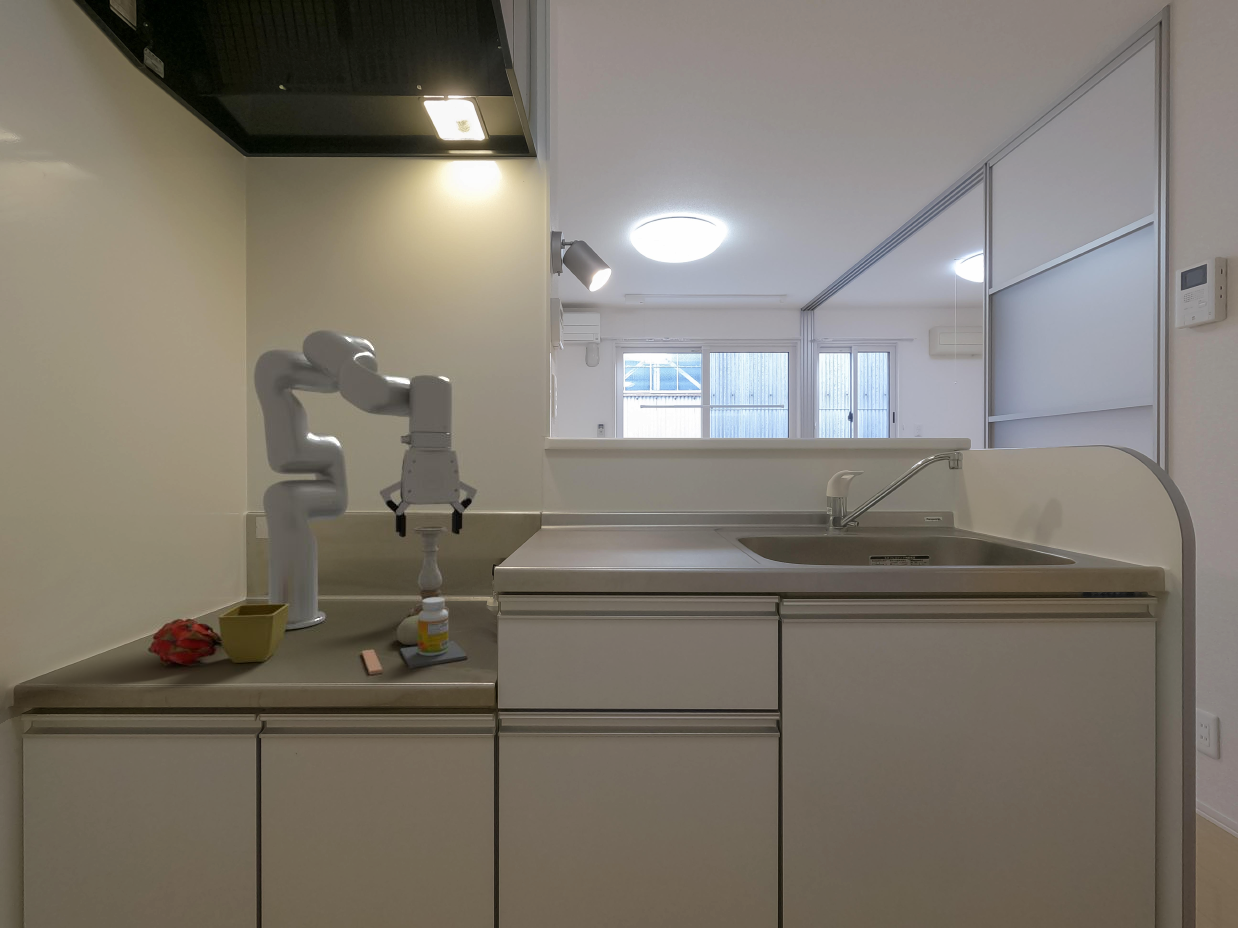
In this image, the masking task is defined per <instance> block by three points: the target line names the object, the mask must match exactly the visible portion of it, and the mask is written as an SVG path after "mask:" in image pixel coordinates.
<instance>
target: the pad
mask: <svg viewBox="0 0 1238 928" xmlns="http://www.w3.org/2000/svg"><path fill="white" fill-rule="evenodd" d="M399 652H400V653H401V655H402V657H403V659H404V661H405V662H406V664H407V666H408V668H409V669H413V668H419V667H420V668H421V667H426V666H431V665H438V664H443V663H445V664H446V663H451V662H457V661H463V660H467V659H468V655H467V654H466V652H464V650H463V649H462V648H461V647H460V646H459V644H457V642H455V640H450V641H449V640H448V650H447V652H445V653H443V654H440V655H436V656H424V655H421V654H419V653H418V645H414V646H410V647H409V646H408V647H402V648H400V651H399Z"/></svg>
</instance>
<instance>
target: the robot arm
mask: <svg viewBox="0 0 1238 928" xmlns="http://www.w3.org/2000/svg"><path fill="white" fill-rule="evenodd" d="M376 354H377V353H376V350H375V348H374V346H373V345H372V343H370V342H369V341H368V340H367V339H365V338H363V337H361V336H356V335H351V334H347V333H342V332H338V331H334V330H333V331H332V330H323V329H322V330H316V331H314V332H311V333H309V334H307V336H306V337H305V339H304V340H303V343H302V351H298V350H297V351H296V350H291V349H290V350H289V349H271V350H267V351H265V352H263V353H262V354H261V355H260V356H259V358H258V359H257V360H256V363H255V368H254V372H253V382H254V383H253V384H254V388H255V389H254V390H255V393H256V396H257V398H258V401H259V404H260V407H261V411H262V414H263V415H262V416H263V426H264V436H265V437H264V438H265V447H266V455H267V456H266V457H267V463H268V465H269V467H270V470H272V471H273V472H275V473H277V474H281V475H314V476H315V477H314V478H315V479H289V480H288V479H287V480H281V481H277V482H275V483H272V484H271V485H270V486H268V487H267V489H266V490H265V491H264V494H263V500H262V504H263V511H264V514H265V520H266V526H267V536H268V604H289V609H288V616H287V622H286V629H285V631H286V630H294V629H295V630H296V629H301V628H302V629H303V628H307V627H313V626H314V625H318V624H321V623H323V622H324V621H325V620H326V613H325V612H324V611H321V610H319V609H318V606H319V605H318V602H319V601H318V600H319V598H318V593H319V591H318V590H319V585H318V583H319V578H318V575H319V574H318V572H319V571H318V570H319V569H318V568H319V567H318V565H319V563H318V561H319V560H318V554H319V553H318V551H319V550H318V547H319V546H318V540H317V537H316V535H315V533H314V532H313V530H312V528H310V526H309V524H308V523H311V522H319V521H320V522H321V521H329V520H335V519H339V518H342V516H343V515H344V514H345V513H346V511H347V509H348V507H349V488H348V486H349V485H348V477H347V475H348V474H347V468H346V467H347V465H346V458H345V451H344V448H343V445H342V443H341V442H340V441H339V439H338V438H336V437H335V436H334V435H331V434H328V433H324V432H323V433H322V432H319V433H318V432H311V431H310V430H309V425H308V414H307V411H306V409H305V407H304V406H303V404H302V402H301V401H300V399H299V398H298V397H297V396H296V395H295V394H294V393H293V391H294V390H295V391H300V392H301V391H303V392H312V393H320V394H334V393H338V392H339V393H340V396H341V397H342V398H343V399H345V401H347V402H348V403H350V404H351V405H352V406H354V407H356V408H358V410H360V411H363V412H366V413H367V414H371V415H380V416H392V417H393V416H394V417H400V418H401V417H402V418H408V419H409V420H408V427H409V428H408V432H407V435H401V436H400V443H401V444H405V445H407V447H408V449H405V451H404V455H403V458H402V466H401V476H400V480H399V481H397V482H395V483H393V484H391V485H389V486H386V487H385V488H383V489H381V490H380V491H379V495H380V496H381V499H382V500H383V501H384V502H383V503H384V504H385V505H386V506H387V508H389V509H390V510H391V511H392V512H393V513H394V514H395V532H396V533H398V536H399V537H401V538H405V537H406V536H407V515H405V512H406V511H407V509H408V508H409V507H410V506H411V505H414V506H415V505H447V504H449V505H450V506H451V508H453V511H452V513H451V533H453V534H455V535H460V530H463V513H464V512H465V511H466V509H467V508H469V506H471V504H472V502H473V500H474V499H475V497H476V494H477V492H478V490H477V489H476V488H475V487H472V486H471V485H469V484H467V483H465V482H462V481H460V470H459V460H458V455H457V450H452V428H453V427H452V422H453V420H452V417H453V415H452V414H453V411H452V410H453V409H452V407H453V406H452V405H453V404H452V403H453V397H452V396H453V393H452V392H453V387H452V383H451V382H452V381H450V379H449V378H447V377H445V376H440V375H435V374H434V375H430V374H426V375H425V374H422V375H421V374H420V375H415V376H414V377H412V378H409V377H403V376H397V375H392V374H384V373H378V368H379V367H378V366H379V365H378V362H377V355H376ZM399 490H400V491H399ZM461 490H462V491H464V492H465V493H466V495H465V497H464V498H463V500H461V502H460V498H461V497H460V496H461ZM397 491H399V492H400V495H399V496H400V499H401V500H400V502H398V504H397V503H396V502H395V501H394V500H393V499H392V497H391V495H392V494H393V493H395V492H397Z"/></svg>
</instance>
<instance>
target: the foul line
mask: <svg viewBox="0 0 1238 928" xmlns="http://www.w3.org/2000/svg"><path fill="white" fill-rule="evenodd" d="M361 655H362V657H363V658H362V659H363V662H364V664H365V666H366V670H367V672H368V674H369V675H377V674H383V667H382V665H381V663H380V661H379V659H378V656H377V654H376V652H375V650H374V648H373V649H366V650H361Z"/></svg>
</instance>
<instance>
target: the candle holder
mask: <svg viewBox="0 0 1238 928" xmlns="http://www.w3.org/2000/svg"><path fill="white" fill-rule="evenodd" d="M447 531H448V529H447V527H446V526H433V525H432V526H431V525H430V526H420V527H419V526H417V527H414V528H413V530H412V532H413V534H417V535H420V539H421V540H422V542H423V547H422V548H421V552H422V553H423V565H422V568H421V571H420V573H419V576H418V578H417V584H418V587H420V588H421V591H419V593H418V594H419V596H421V602H420V603H418V604H416V605H414V606H415V607H414V608H413V609H411V610H410V612H409V613H410V614H409V615H410V617H411V616H417V615H419V613H420V612H421V611H423V608H422V601H423V600H424V599H426V598H432V597H440V594H441V592H442V591H441V590H440V589H439V587H440V586H441V585H442V583H443V576H442V574H441V571H440V570H439V567H438V563H437V552H439V548H438V546H437V542H438V540H439V539H440V534H443V533H447ZM443 609H444V610H446V611H447V612H448V615H449V613H450V608H449V607H448V606H446V605H445V606H444V608H443Z"/></svg>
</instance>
